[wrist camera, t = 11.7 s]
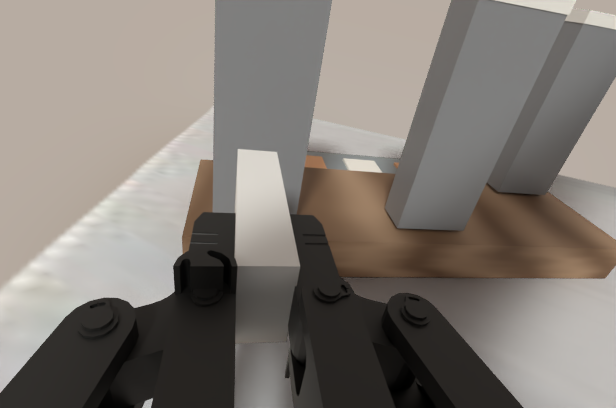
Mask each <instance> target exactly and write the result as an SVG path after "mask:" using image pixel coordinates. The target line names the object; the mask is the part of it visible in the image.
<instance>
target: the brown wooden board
mask: <svg viewBox="0 0 616 408" xmlns="http://www.w3.org/2000/svg"><path fill="white" fill-rule="evenodd" d="M394 177H395V174H392V173H378V172H365V171H351V170H337V169H323V168H310V167H304V173H303V179H302V185H301V191H300V197H299V203H298V209H297V215H314V216H315V217H316V218H317V219H318V220H319V221H320V223H321V224H322V225H323V228H324V231H325V234H326V237H327V240H328V243H329V244H328V245H329V246H330V249H331V252H332V255H333V258H334V261H335V264H336V267H337V270H338V273H339V277H443V278H606V277H607V275H608V274H609V273H610V272H611V270H612V269H613V268H614V267H615V266H616V240H615V239H613V238H612V237H611V236H609V235H608V234H606V233H605V232H604V231H602V230H601V229H599V228H598V227H597V226H595V225H594V224H592V223H591V222H589V221H588V220H587V219H585V218H584V217H582V216H581V215H580V214H578V213H577V212H575V211H574V210H573V209H571V208H570V207H568V206H567V205H566V204H564V203H563V202H561V201H560V200H559V199H557V198H556V197H554V196H553V195H552V194H550V193H549V192H547V193H546V195H538V194H522V193H507V192H498V191H496V190H495V189H494V188H493V187H492V186H491V185H489V184H488V183H486V185H485V187H484V189H483V191H482V193H481V195H480V198H479V200H478V202H477V204H476V206H475V208H474V210H473V212H472V214H471V216H470V218H469V220H468V222H467V225H466V227H465V229H464V231H458V230H431V229H404V228H397V227H396V225H395V224H394V222H393V220H392V219H391V217H390V215H389V214H388V212H387V210H386V209H385V205H386V202H387V199H388V196H389V193H390V190H391V187H392V184H393V181H394ZM203 212H213V160H201V161H200V165H199V169H198V173H197V177H196V182H195V186H194V190H193V194H192V198H191V202H190V206H189V211H188V215H187V219H186V223H185V227H184V231H183V235H182V245H183V254H184V253H185V252H187V251H189V245H190V240H191V235H192V230H193V225H194V221H195V220H196V219H197V218H198V217H199V216H200V215H201V214H202V213H203Z"/></svg>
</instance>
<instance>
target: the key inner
mask: <svg viewBox="0 0 616 408" xmlns="http://www.w3.org/2000/svg"><path fill="white" fill-rule="evenodd" d="M615 77H616V15H612V14H607V13H602V12H597V11H592V10H584V9H574V8H572V10H571V12H570V14H569V15H567V17H566V19H565V21H564V23H563V25H562V27H561V30H560V32H559V34H558V36H557V38H556V40H555V42H554V44H553V46H552V48H551V50H550V52H549V54H548V56H547V59H546V61H545V63H544V65H543V67H542V69H541V71H540V73H539V75H538V77H537V79H536V81H535V83H534V86H533V88H532V90H531V92H530V94H529V96H528V98H527V100H526V102H525V104H524V106H523V108H522V110H521V113H520V115H519V117H518V119H517V121H516V123H515V125H514V127H513V129H512V131H511V133H510V135H509V137H508V139H507V142H506V144H505V146H504V148H503V150H502V152H501V154H500V156H499V158H498V160H497V162H496V164H495V166H494V169H493V171H492V173H491V175H490V177H489V179H488V181H487V183H488V184H489V185H491V186H492V187H493V188H494V189H495V190H496V191H498V192H507V193H522V194H538V195H546V193H547V191H548V190H549V188H550V186H551V185H552V183H553V181H554V180H555V178H556V176H557V175H558V173H559V171H560V169H561V168H562V166H563V164H564V163H565V161H566V159H567V158H568V156H569V154H570V153H571V151H572V149H573V148H574V146H575V144H576V143H577V141H578V139H579V138H580V136H581V134H582V133H583V131H584V129H585V127H586V126H587V124H588V122H589V121H590V119H591V117H592V115H593V114H594V112H595V111H596V109H597V107H598V106H599V104H600V102H601V101H602V99H603V97H604V96H605V94H606V92H607V90H608V89H609V87H610V85H611V84H612V82H613V80H614V79H615Z"/></svg>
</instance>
